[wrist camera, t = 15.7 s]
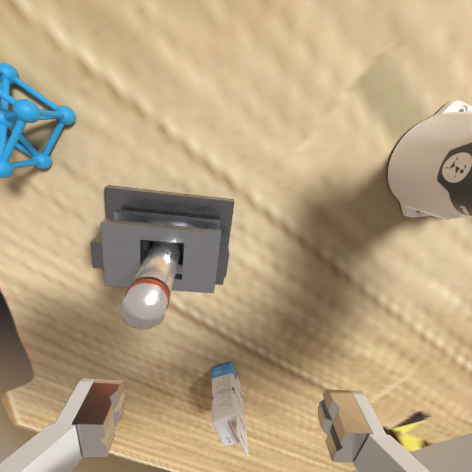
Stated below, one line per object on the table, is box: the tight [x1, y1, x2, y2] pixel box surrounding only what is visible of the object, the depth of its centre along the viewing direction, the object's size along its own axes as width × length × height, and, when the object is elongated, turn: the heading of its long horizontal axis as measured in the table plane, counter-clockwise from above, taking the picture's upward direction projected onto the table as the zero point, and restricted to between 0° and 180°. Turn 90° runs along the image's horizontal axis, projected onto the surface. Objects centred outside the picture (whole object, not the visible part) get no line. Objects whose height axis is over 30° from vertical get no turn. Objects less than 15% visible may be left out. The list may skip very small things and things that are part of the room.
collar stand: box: [91, 185, 234, 293], centre depth 40 cm, size 20×16×8 cm
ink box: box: [212, 362, 249, 457], centre depth 51 cm, size 8×5×15 cm, turn 16°
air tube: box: [120, 241, 184, 329], centre depth 34 cm, size 5×5×18 cm
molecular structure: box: [0, 63, 76, 178], centre depth 31 cm, size 10×10×10 cm
